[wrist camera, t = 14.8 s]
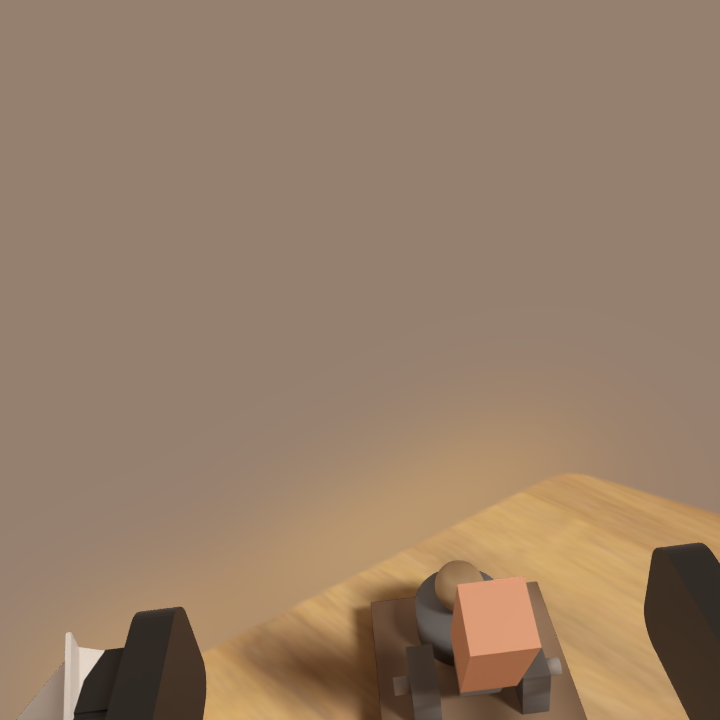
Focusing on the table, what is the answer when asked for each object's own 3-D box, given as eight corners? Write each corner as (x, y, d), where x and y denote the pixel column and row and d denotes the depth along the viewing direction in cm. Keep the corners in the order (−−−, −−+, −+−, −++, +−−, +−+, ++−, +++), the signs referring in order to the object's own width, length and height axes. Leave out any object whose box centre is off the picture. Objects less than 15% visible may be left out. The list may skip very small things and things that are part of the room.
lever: (456, 707, 40) (470, 656, 28) (447, 652, 42) (457, 584, 30) (507, 700, 40) (541, 647, 28) (496, 646, 41) (524, 576, 30)
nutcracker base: (393, 832, 38) (380, 755, 34) (373, 620, 50) (361, 545, 46) (608, 805, 38) (620, 725, 34) (536, 600, 50) (538, 523, 46)
